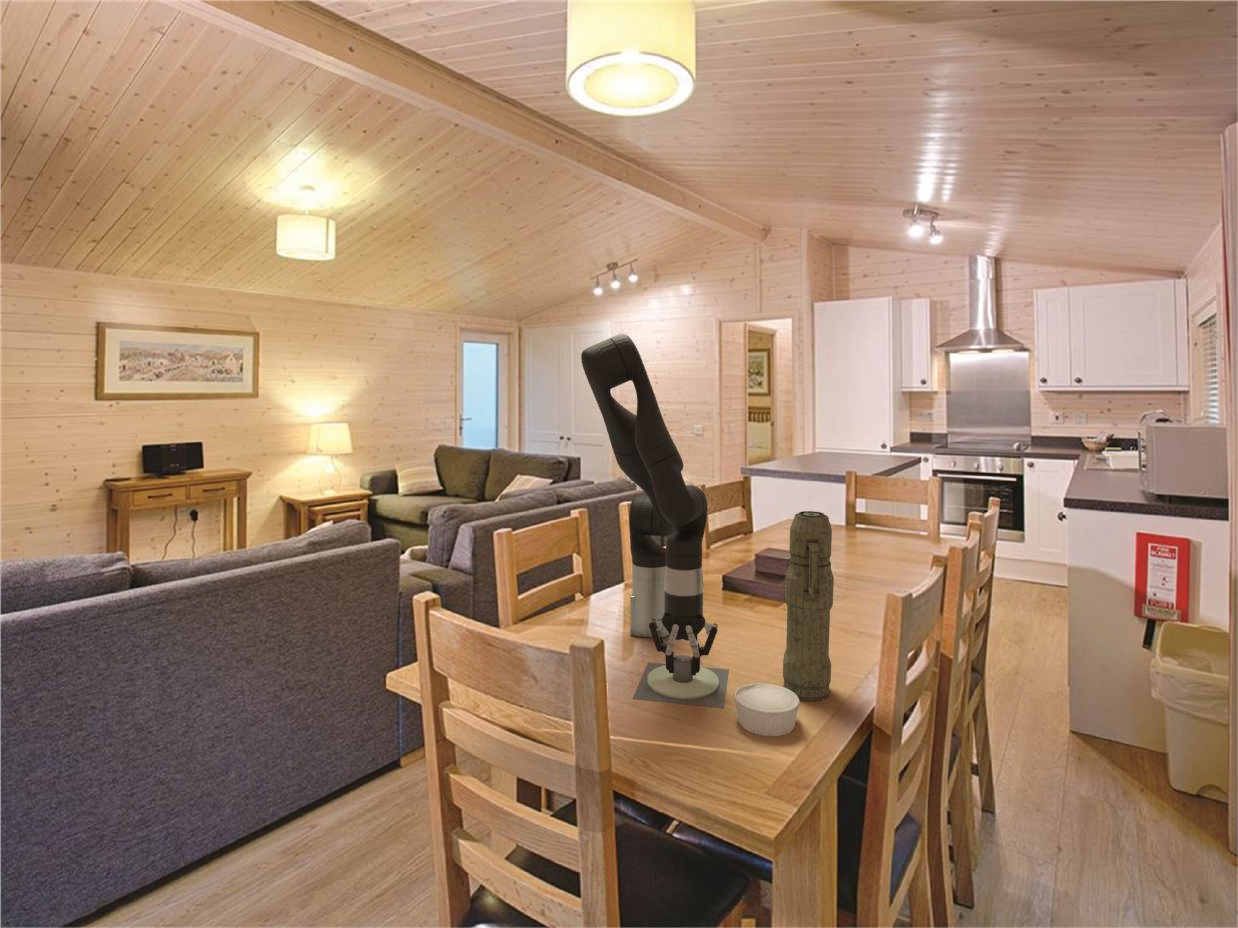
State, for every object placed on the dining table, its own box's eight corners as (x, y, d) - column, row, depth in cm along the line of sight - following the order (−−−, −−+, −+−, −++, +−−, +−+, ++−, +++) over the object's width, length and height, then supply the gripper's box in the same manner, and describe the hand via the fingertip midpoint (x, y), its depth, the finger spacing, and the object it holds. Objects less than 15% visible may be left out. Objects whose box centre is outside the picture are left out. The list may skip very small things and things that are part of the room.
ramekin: (752, 703, 121) (752, 676, 121) (809, 722, 114) (810, 694, 114) (721, 727, 113) (722, 698, 112) (781, 749, 106) (782, 718, 105)
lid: (641, 695, 123) (641, 670, 123) (653, 665, 137) (653, 642, 136) (716, 703, 120) (716, 677, 120) (720, 671, 134) (720, 648, 133)
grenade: (821, 677, 132) (826, 507, 128) (837, 705, 120) (844, 519, 116) (777, 676, 132) (781, 507, 129) (789, 704, 121) (794, 519, 117)
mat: (632, 701, 122) (632, 698, 122) (648, 664, 139) (648, 662, 139) (723, 710, 119) (723, 707, 118) (728, 671, 135) (728, 669, 135)
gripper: (644, 591, 124) (644, 677, 126) (719, 596, 121) (718, 684, 123) (650, 580, 132) (650, 662, 133) (721, 584, 129) (720, 668, 130)
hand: (683, 672), depth 128 cm, fingers closed on lid, 4 cm apart
